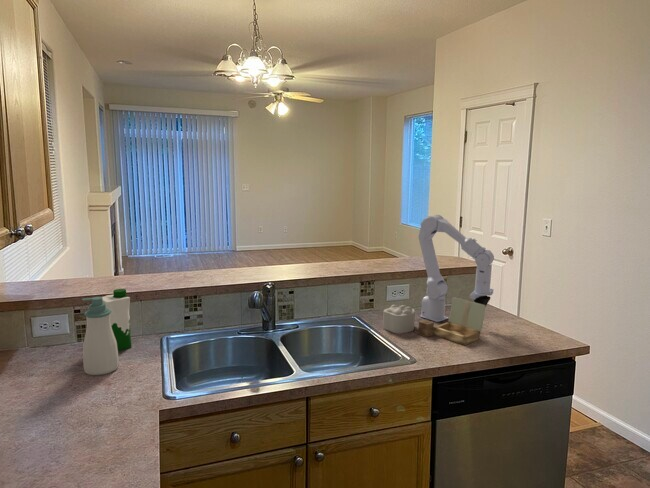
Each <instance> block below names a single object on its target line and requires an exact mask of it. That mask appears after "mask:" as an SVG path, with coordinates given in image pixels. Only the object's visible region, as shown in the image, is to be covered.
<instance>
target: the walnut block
mask: <svg viewBox="0 0 650 488" xmlns="http://www.w3.org/2000/svg"><path fill="white" fill-rule="evenodd" d="M434 323H435V321H432V320H429V319H424V320H420V321H418V329H417V330H418V332H417V334H418V335H420V336H423V337H425V338H428V337H430V336H433V328H434V327H435V326H434Z"/></svg>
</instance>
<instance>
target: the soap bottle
mask: <svg viewBox="0 0 650 488" xmlns="http://www.w3.org/2000/svg"><path fill="white" fill-rule="evenodd" d="M102 297H103V296H94V297H89V298H88V297H87V298H81V300H82V302H89V301H91V303H90V304H89V305H88V309H87V311H85V312H84V314H83V315H84V316H85V317H86V330H85V335H84V338H83V339H84V340H83V344H82V362H83V371H84V373H86V374H87V375H90V376H103V375H107V374H110V373H112V372H114V371H116V370H117V369H118V367H119V365H120V361H119V360H120V359H119V351H118V348H117V342H116V339H115V336H114V333H113V330H112V327H111V322H110V313H111V310H110V309H108V308H106V304H105V303H103V298H102Z"/></svg>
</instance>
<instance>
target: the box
mask: <svg viewBox="0 0 650 488" xmlns="http://www.w3.org/2000/svg"><path fill="white" fill-rule="evenodd" d="M433 335H434V336H435V337H439V338H442V339H445V340H448V341H451V342H454V343H457V344H460V345H463V346H468V345H469V344H471V343H474V342H476V341H478V340H480V338H481V331H478V330H474V329H471V328H468V327H465V326H461V325H458V324H455V323H452V322H449V321H447V322H445V323H441V324H438V325H436V326H434V328H433ZM433 335H432V336H433Z"/></svg>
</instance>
